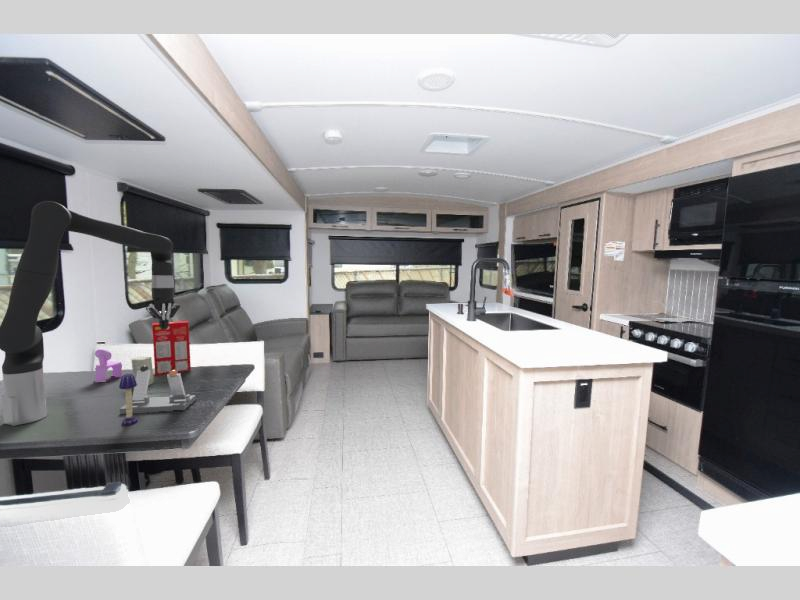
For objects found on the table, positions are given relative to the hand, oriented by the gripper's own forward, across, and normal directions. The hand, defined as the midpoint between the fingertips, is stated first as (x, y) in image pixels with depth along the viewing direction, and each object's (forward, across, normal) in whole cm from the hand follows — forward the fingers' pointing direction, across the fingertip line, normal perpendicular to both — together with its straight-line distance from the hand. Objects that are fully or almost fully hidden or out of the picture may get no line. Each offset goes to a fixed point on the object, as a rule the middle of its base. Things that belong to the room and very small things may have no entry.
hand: (164, 328), depth 140 cm
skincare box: (+28, +4, +20) cm, 34 cm away
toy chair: (+28, +3, +42) cm, 51 cm away
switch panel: (+27, -10, -11) cm, 31 cm away
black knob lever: (+25, -14, -5) cm, 29 cm away
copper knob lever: (+25, -7, -17) cm, 31 cm away
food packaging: (+28, +22, +26) cm, 44 cm away
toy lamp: (+28, -23, -15) cm, 39 cm away
